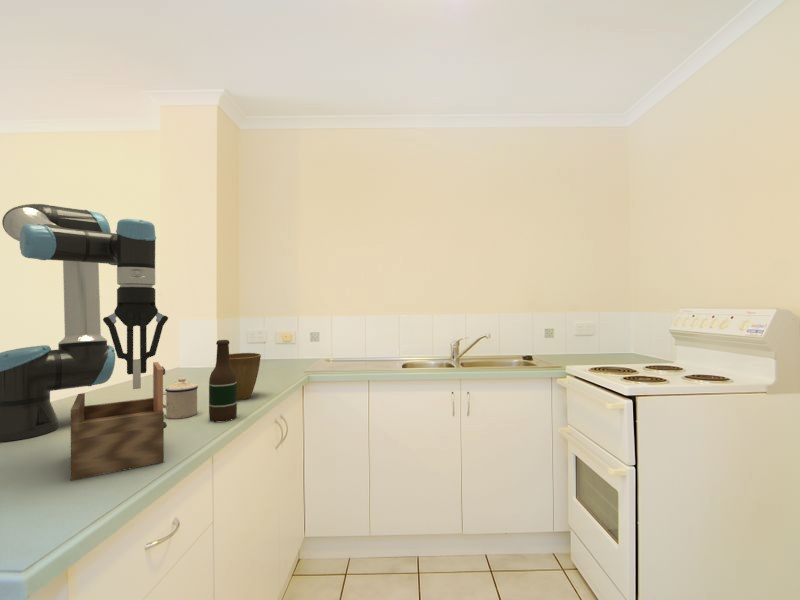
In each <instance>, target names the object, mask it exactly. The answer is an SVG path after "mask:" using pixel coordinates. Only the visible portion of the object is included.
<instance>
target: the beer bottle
mask: <svg viewBox="0 0 800 600" xmlns="http://www.w3.org/2000/svg"><path fill="white" fill-rule="evenodd" d="M215 345H217V346H216V356H215V357H216V359H215V365H214V367H213V370H212V371H211V373H210V375H209V380H208V382H209V383H208V416H209V417H208V418H209V420H210V421H211V422H213V421H214V422H213V423H217V422H216V421H225V422H227V421H226V420H229V421H232V420H231V419H233V420H234V419H236V417H237V414H238V411H237V410H238V403H237V402H238V400H237V379H236V374H235V371H234V370H233V368H232V367H231V365H230V358H229V354H230V349H229V348H230V347H229V346H230V340H229V339H218V340H217V341H216V343H215Z"/></svg>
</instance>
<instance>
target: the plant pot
mask: <svg viewBox="0 0 800 600" xmlns="http://www.w3.org/2000/svg"><path fill="white" fill-rule="evenodd" d="M229 358H230V365H231V367H232V368H233V370H234V371H235V374H236V379H237V401H240V400H242V399H243V400H247V398H248V399H251V397H252V395H253V392H254V389H255V386H256V382H257V379H258V374H259V370H260V365H261V364H260V363H261V358H262V354H260V353H256V352H237V353H235V352H234V353H229Z"/></svg>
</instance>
